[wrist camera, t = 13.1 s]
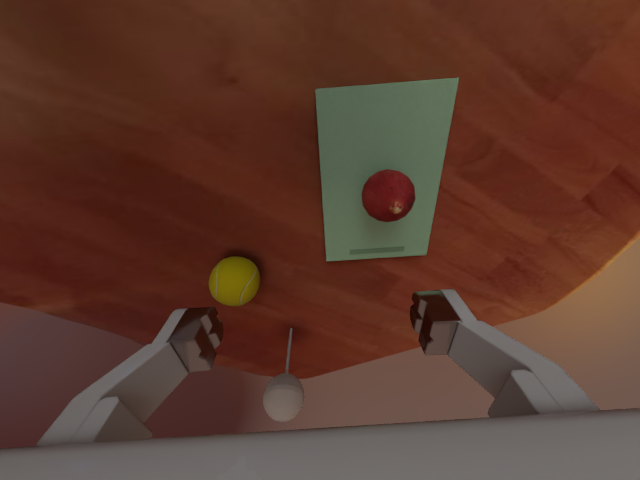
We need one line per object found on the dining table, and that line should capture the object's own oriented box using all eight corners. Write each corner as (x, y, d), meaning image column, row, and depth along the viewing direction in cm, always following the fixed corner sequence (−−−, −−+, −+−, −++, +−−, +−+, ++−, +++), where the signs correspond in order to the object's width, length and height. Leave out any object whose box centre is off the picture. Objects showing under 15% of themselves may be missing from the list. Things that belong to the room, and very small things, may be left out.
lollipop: (279, 314, 43) (263, 405, 30) (310, 320, 44) (308, 411, 31) (272, 336, 46) (256, 427, 33) (302, 341, 47) (297, 432, 34)
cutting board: (315, 89, 26) (315, 88, 25) (452, 79, 26) (459, 77, 24) (326, 255, 37) (326, 261, 36) (422, 249, 37) (426, 255, 35)
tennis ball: (267, 254, 37) (258, 284, 31) (259, 287, 40) (249, 320, 34) (221, 243, 36) (202, 271, 29) (217, 278, 39) (199, 310, 33)
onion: (409, 167, 29) (439, 186, 22) (394, 210, 32) (417, 239, 25) (363, 159, 28) (378, 177, 21) (352, 204, 31) (363, 232, 24)
